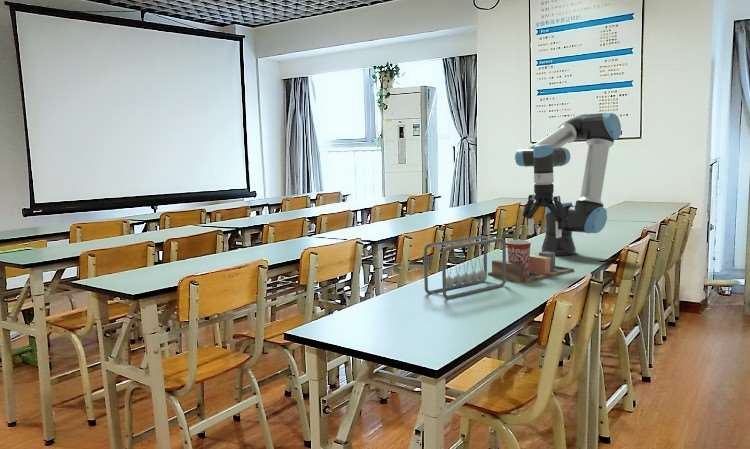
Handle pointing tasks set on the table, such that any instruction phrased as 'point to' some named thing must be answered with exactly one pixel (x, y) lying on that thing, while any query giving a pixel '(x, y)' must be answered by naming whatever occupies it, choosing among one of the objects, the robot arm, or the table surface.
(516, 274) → the clamp bed
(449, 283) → the newton's cradle
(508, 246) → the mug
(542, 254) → the lock block
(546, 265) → the block
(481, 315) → the table surface
